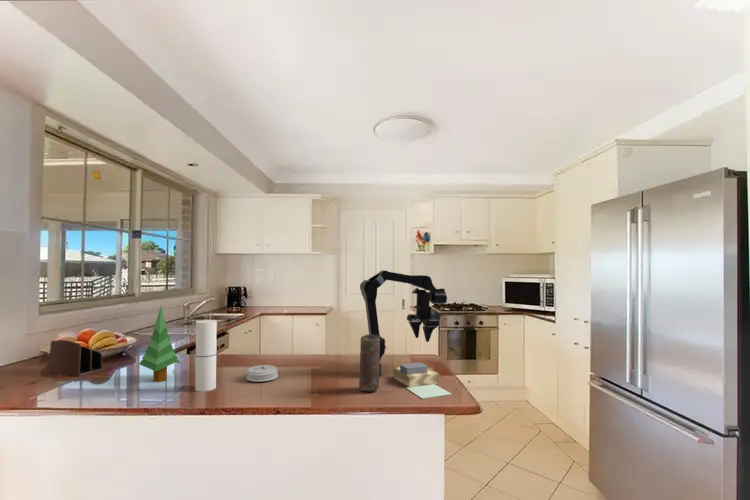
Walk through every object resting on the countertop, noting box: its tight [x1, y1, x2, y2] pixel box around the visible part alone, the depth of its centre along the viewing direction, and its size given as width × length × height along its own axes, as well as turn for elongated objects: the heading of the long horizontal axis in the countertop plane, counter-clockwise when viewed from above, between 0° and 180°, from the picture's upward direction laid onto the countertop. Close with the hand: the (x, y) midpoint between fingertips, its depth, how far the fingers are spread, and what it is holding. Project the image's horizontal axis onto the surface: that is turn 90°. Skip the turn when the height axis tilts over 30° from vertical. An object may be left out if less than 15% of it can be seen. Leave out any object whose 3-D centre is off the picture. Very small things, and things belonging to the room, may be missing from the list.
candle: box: [358, 333, 381, 393], centre depth 149 cm, size 8×7×20 cm
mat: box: [406, 384, 452, 400], centre depth 147 cm, size 12×12×1 cm
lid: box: [245, 364, 279, 382], centre depth 163 cm, size 13×13×5 cm
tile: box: [399, 362, 429, 375], centre depth 159 cm, size 9×6×2 cm, turn 112°
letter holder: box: [48, 339, 103, 378], centre depth 173 cm, size 10×20×14 cm, turn 68°
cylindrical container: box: [194, 319, 218, 393], centre depth 151 cm, size 7×7×25 cm
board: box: [393, 366, 440, 388], centre depth 160 cm, size 13×14×4 cm
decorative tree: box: [138, 305, 182, 383], centre depth 161 cm, size 14×16×30 cm
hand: (422, 339), depth 175 cm, fingers open, 9 cm apart
